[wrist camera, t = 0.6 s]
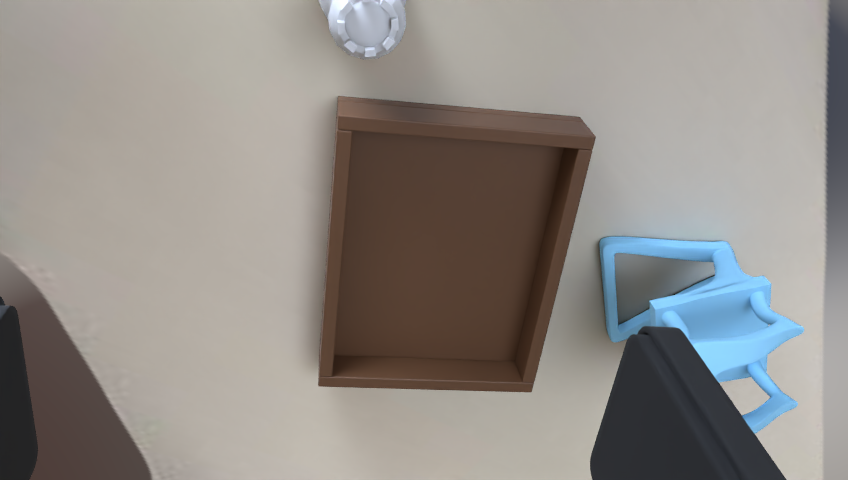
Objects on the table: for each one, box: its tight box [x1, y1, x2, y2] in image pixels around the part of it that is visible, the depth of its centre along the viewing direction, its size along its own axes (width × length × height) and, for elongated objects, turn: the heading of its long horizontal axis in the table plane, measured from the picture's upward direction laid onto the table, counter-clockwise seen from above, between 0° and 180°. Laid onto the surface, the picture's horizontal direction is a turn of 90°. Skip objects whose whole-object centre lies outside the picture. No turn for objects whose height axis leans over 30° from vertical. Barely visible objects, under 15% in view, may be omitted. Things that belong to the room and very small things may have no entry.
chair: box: [599, 236, 804, 434], centre depth 43 cm, size 8×8×12 cm
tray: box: [318, 96, 596, 392], centre depth 44 cm, size 18×14×3 cm
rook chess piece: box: [319, 0, 406, 59], centre depth 34 cm, size 4×4×8 cm
